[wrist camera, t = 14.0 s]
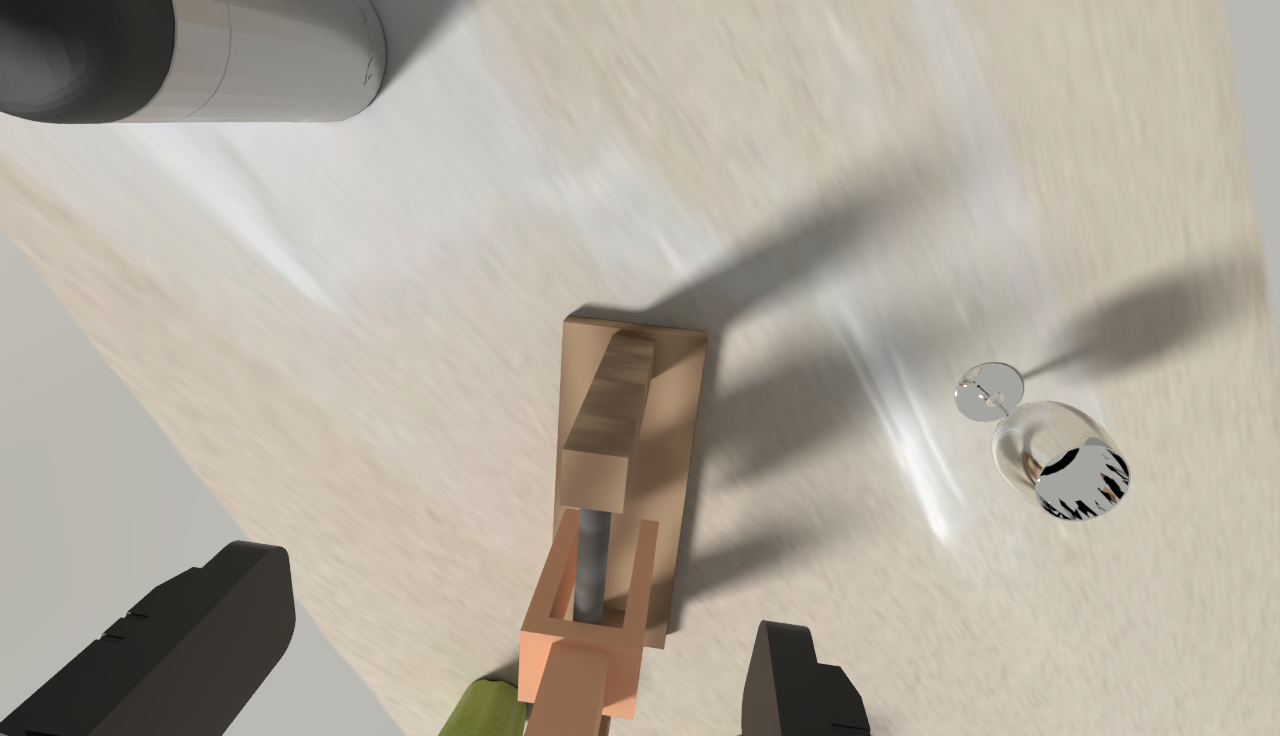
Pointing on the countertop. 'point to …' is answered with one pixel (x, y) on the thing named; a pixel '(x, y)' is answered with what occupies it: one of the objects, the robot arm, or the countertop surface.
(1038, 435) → the wineglass
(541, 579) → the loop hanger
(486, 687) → the plant pot
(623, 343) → the hook stand
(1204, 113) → the countertop surface
